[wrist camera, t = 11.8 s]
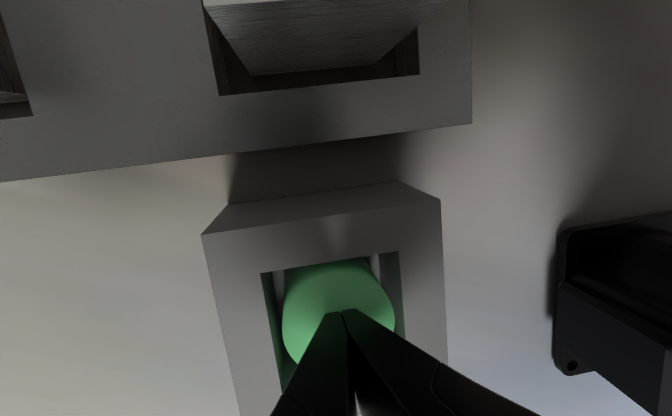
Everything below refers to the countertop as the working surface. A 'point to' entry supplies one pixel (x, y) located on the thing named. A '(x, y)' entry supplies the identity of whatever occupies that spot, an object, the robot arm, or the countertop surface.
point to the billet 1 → (9, 71)
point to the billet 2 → (315, 31)
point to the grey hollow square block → (314, 248)
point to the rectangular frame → (199, 88)
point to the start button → (329, 299)
